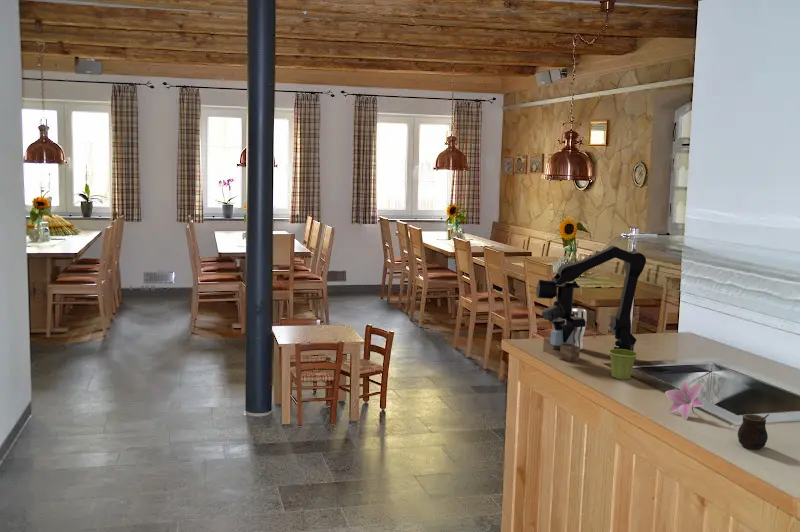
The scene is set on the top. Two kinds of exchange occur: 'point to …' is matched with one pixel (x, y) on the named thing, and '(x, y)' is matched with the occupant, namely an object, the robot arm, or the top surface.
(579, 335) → the beer glass
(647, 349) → the top surface
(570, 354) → the rail
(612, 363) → the plant pot
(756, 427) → the mate gourd
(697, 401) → the lily
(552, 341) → the light blue block
